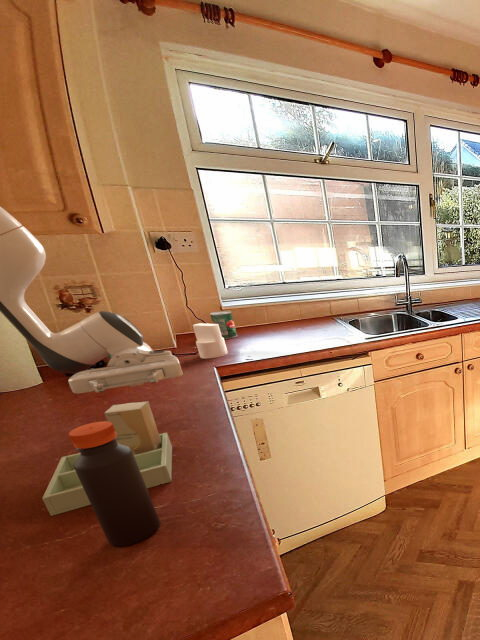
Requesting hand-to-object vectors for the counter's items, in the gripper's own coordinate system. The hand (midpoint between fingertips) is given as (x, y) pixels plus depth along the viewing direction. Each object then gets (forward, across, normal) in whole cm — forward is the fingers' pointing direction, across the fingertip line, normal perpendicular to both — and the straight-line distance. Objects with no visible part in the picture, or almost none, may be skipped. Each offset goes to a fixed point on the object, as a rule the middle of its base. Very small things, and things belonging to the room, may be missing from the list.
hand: (126, 384), depth 96 cm
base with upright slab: (-71, +18, +14) cm, 75 cm away
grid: (+16, -4, +15) cm, 22 cm away
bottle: (+40, 0, +15) cm, 43 cm away
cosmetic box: (+12, 0, +14) cm, 18 cm away
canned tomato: (-99, +24, +14) cm, 103 cm away
